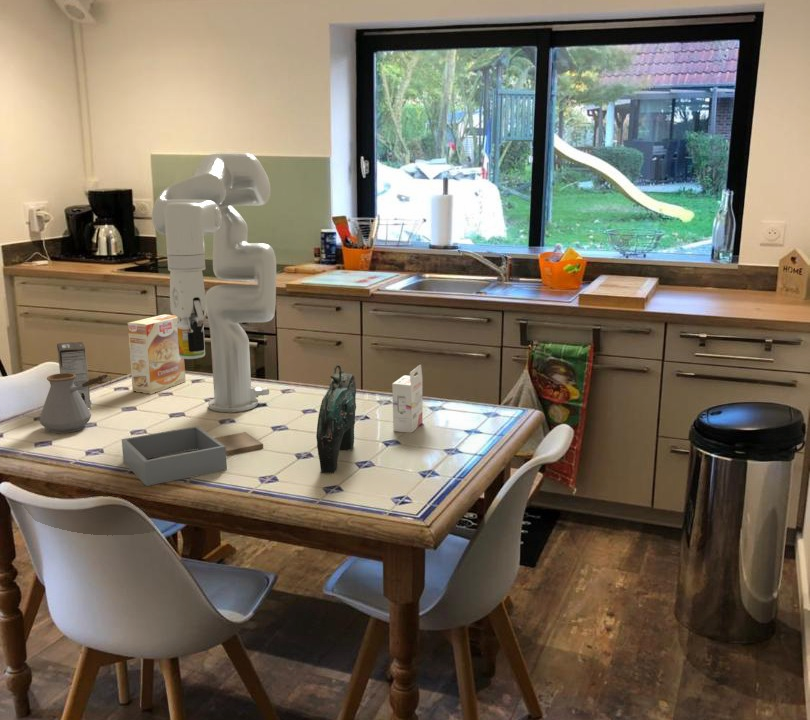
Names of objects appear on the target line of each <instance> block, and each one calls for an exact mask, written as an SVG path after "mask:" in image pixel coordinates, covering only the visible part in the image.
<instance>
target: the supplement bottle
mask: <svg viewBox="0 0 810 720" xmlns="http://www.w3.org/2000/svg"><path fill="white" fill-rule="evenodd" d="M191 317H196V315H191V316H190V318H191ZM180 319H181V318H180ZM193 323H194V321H192V325H193ZM204 325H205V324H204ZM204 325H203V328H204ZM177 330H178V345H179V356H180V357H181V358H183V359H184V360H194V359H195V360H196V359H201V358H203V357H205V355H206V343H205V340H204V350H203V351H195V352H190V351H189V347H188V333H190V332H189V327H188V321H187V319H185V320H183V319H181V321H180V322H179V323H178V325H177ZM203 333H204V334H205V331H204V332H203Z"/></svg>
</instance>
